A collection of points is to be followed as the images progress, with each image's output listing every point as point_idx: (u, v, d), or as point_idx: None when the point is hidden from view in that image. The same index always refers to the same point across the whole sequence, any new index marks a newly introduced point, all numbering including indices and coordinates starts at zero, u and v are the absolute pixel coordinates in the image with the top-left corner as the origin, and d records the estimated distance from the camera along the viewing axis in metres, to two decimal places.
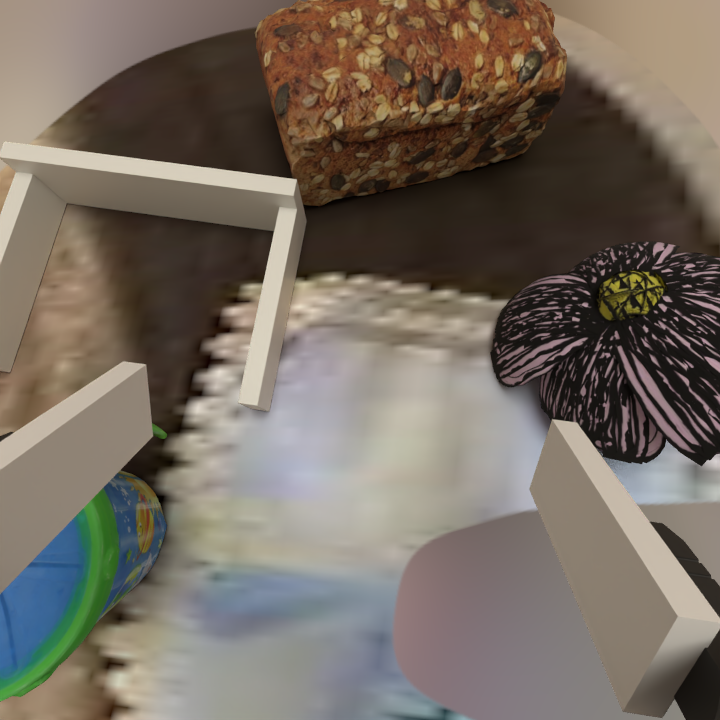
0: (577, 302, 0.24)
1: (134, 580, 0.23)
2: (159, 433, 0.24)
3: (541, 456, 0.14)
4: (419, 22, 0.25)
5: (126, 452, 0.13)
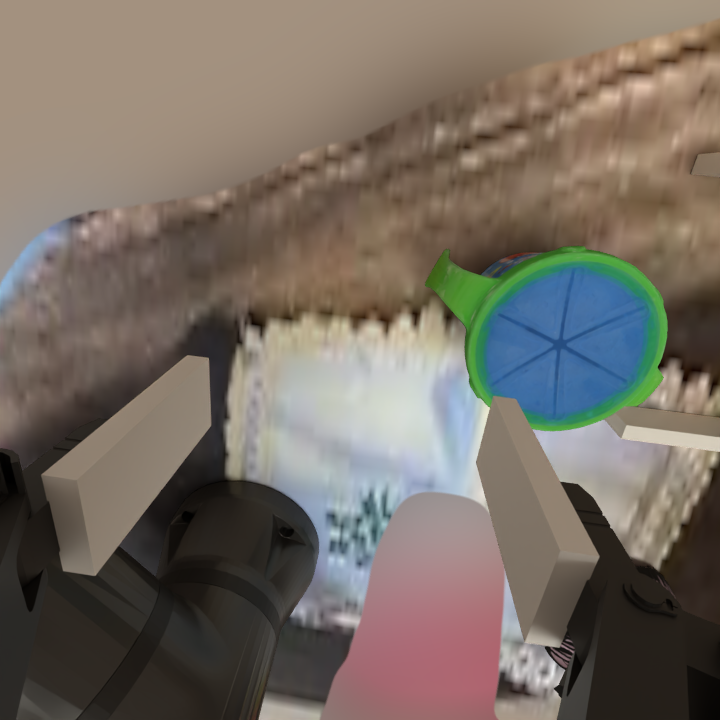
0: None
1: None
2: None
3: (485, 431, 0.15)
4: None
5: (192, 439, 0.14)
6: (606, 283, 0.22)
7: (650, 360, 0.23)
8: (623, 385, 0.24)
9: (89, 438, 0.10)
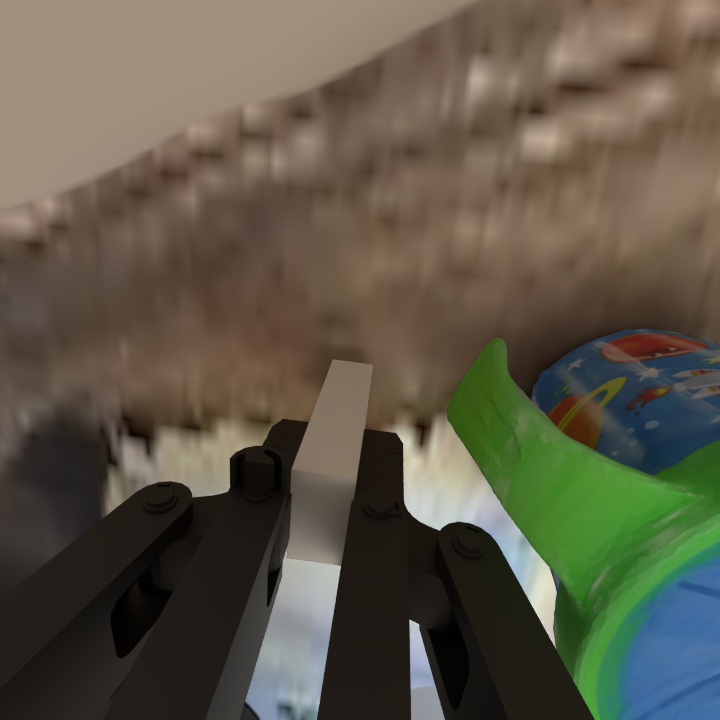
0: None
1: None
2: None
3: None
4: None
5: None
6: None
7: None
8: None
9: (306, 436, 0.11)
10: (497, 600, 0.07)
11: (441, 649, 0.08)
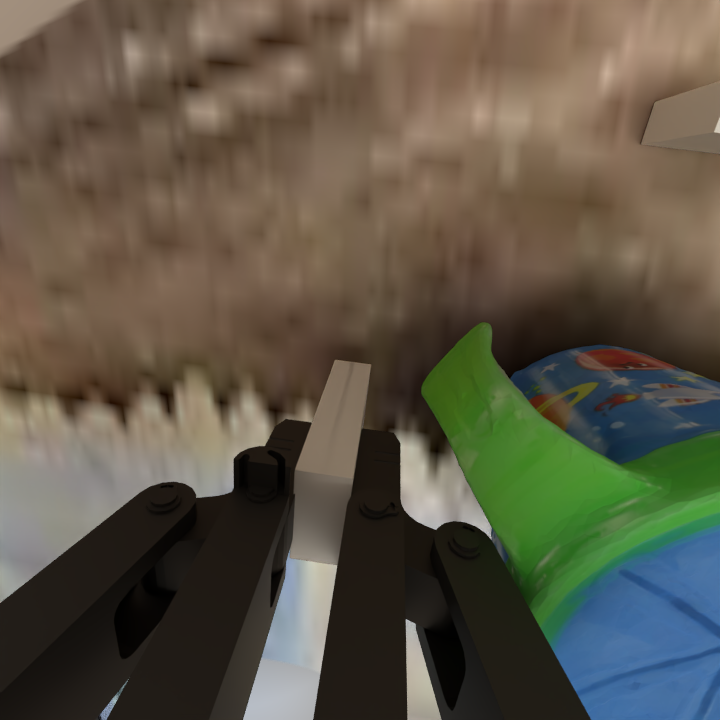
0: None
1: None
2: None
3: None
4: None
5: None
6: None
7: None
8: None
9: (309, 436, 0.11)
10: (493, 599, 0.07)
11: (438, 649, 0.08)
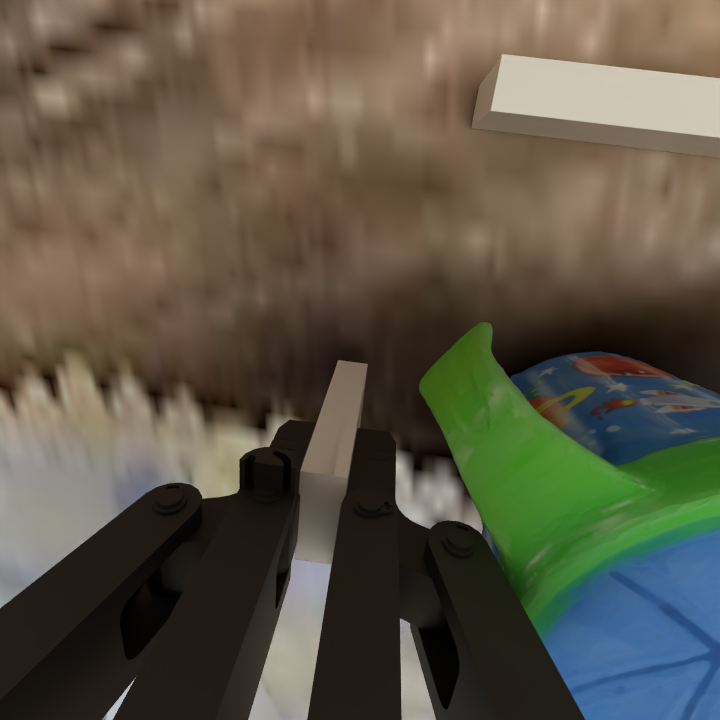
0: None
1: None
2: None
3: None
4: None
5: None
6: None
7: None
8: None
9: (314, 437, 0.11)
10: (487, 598, 0.07)
11: (432, 648, 0.08)
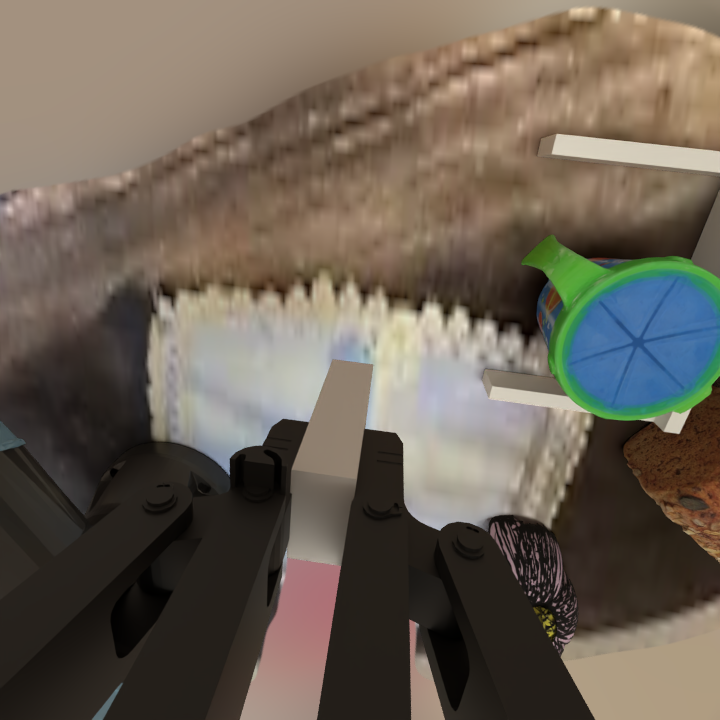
0: (540, 595, 0.39)
1: None
2: None
3: None
4: None
5: None
6: (699, 297, 0.25)
7: (710, 375, 0.27)
8: (679, 391, 0.27)
9: (306, 436, 0.11)
10: (497, 600, 0.07)
11: (441, 649, 0.08)
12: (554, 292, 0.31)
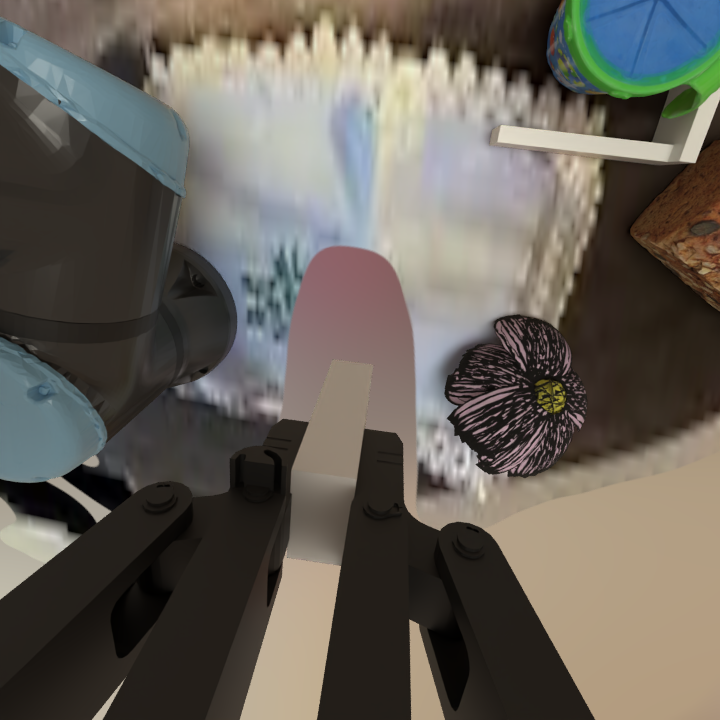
0: (549, 368, 0.38)
1: (570, 79, 0.32)
2: (671, 116, 0.32)
3: None
4: None
5: None
6: None
7: None
8: (702, 51, 0.26)
9: (306, 436, 0.11)
10: (497, 600, 0.07)
11: (441, 649, 0.08)
12: None
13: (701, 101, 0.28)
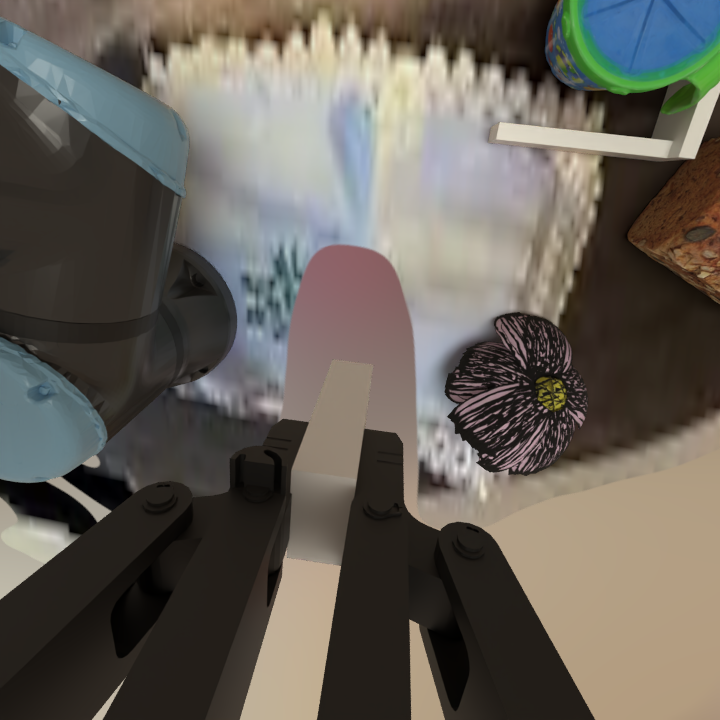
0: (549, 365, 0.38)
1: (568, 76, 0.32)
2: (670, 112, 0.31)
3: None
4: None
5: None
6: None
7: None
8: (700, 46, 0.26)
9: (306, 436, 0.11)
10: (497, 600, 0.07)
11: (441, 649, 0.08)
12: None
13: (700, 96, 0.28)
